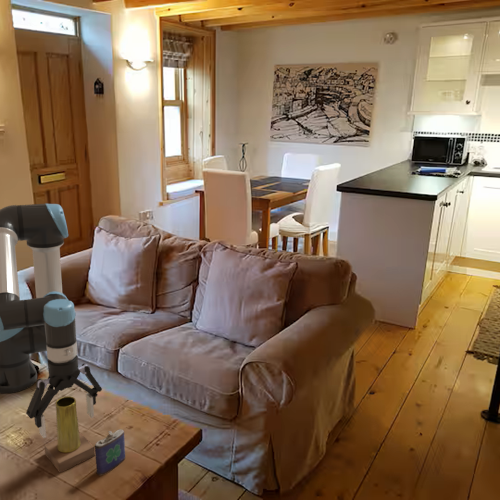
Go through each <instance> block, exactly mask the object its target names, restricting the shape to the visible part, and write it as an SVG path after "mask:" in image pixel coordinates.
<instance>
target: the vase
mask: <svg viewBox="0 0 500 500" xmlns="http://www.w3.org/2000/svg"><path fill="white" fill-rule="evenodd" d="M55 415H56V433H57V438H56V440H57V442H58V446H57V448H58V450H59V451H60V452H63V453H69V452H72V451H75V450H76V449H78V448H79V446H80V444H81V443H80V439H79V431H80V430H79V421H78V420H79V419H78V414H77V400H76V398H75V397H73V396H62V397H60V398H58V399H57V400H56V401H55Z"/></svg>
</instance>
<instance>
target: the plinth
mask: <svg viewBox="0 0 500 500" xmlns="http://www.w3.org/2000/svg"><path fill="white" fill-rule="evenodd" d="M79 439H80V443H81V444H80V446H79V448H78V449H76V450H75V451H72V452H69V453H63V452H60V451H59V450H58V448H57V446H58V442H57V439H55V440H53V441H50V442H48V443H46V444H44V445H43V446H44V454H45V456H46V457H47V458H48V459H49V461H50V462H51V463H52V465H54V467H55V468H56V470H57V471H58V472H59V473H62V472H64V471H66V470H69V469H71V468H73V467H75V466H77V465H79V464H81V463H83V462H85V461H87V460H89V459H92V458H94V457H96V456H95V445H93V444H92V443H91V442H90V441H89V440H88V439H87V437H85V435H83V434H82V433H81V431H80V430H79ZM93 456H94V457H93ZM84 460H85V461H84ZM82 461H83V462H82ZM76 464H77V465H76Z"/></svg>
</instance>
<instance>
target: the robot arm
mask: <svg viewBox="0 0 500 500" xmlns="http://www.w3.org/2000/svg"><path fill="white" fill-rule="evenodd" d="M68 237H69V231H68V226H67V221H66V217H65V213H64V209H63V207H62V206H61V205H60V204H58V203H48V202H47V203H46V202H45V203H35V204H12V205H8V206H4V207H2V208H1V209H0V394H13V393H16V392H17V393H18V392H20V391H24V390H26V389H28V388H30V387H31V386H33V385H35V383H36V386H35V390H34V392H33V395H32V397H31V399H30V402H29V405H28V406H27V410H26V412H25V413H26V415H27V417H28V418H29V419H33V418H34V425H35V426H36V428H38V431H39V434H40V436H41V437H42V438H43V439H45V438H47V430H46V428H47V427H46V418H45V415H44V413H45V411H46V409H47V408H48V407H49V405H50V404H51V402H52V401H53V399H54V397H55V396H57V395H58V394H59V392H60V391H61V392H62V391H64V390H66V389H70V388H72V387H73V386H74V385H75V386H77V387H79V388H80V389H82V390H83V391H85V392H86V394H85V397H86V399H85V400H86V414H87V416H89V417H90V418H95V413H94V410H95V409H94V405H96V404H97V398H96V397H98V392H102V390H103V388H102V386H101V385H100V384H99V382H98V381H97V380H96V378H95V376H94V375H93V374H92V373H91V368H90V366H89V365H88V364H86V363H82V364H81V366H80V367H79V358H78V343H77V342H78V341H77V340H78V339H77V332H76V331H77V330H76V329H77V327H76V310H75V304H74V302H73V301H72V300H69V299H68V298H67V296H66V294H65V293H63V284H62V283H63V281H62V266H61V265H62V264H61V249H60V248H61V247H62V246H63V245H64V244H65V239H67V238H68ZM19 241H20V242H21V241H26V245H27V247H29V249H31V251H32V262H33V263H32V264H33V274H34V275H33V276H34V285H35V297H36V298H28V299H27V298H26V299H21V297H20V287H19V276H18V275H19V274H18V267H17V266H18V265H17V255H16V254H17V253H16V246H17V244H18V242H19ZM43 352H46V358H47V369H48V377H47V378H46V379H45V378H44V379H41V378H38V373H37V370H36V368H35V365H34V364H33V361H32V360H31V354H38V353H43ZM81 374H83V375H84V376H85V377H86V378H87V380H88V381H89V382H90V384H91V385H92V387H90V386H88V385H87V384H86V383H85V382H83V381H81V380H80V379H78V378H79V376H80V375H81ZM45 389H47V390H46V392H45Z"/></svg>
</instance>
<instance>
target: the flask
mask: <svg viewBox="0 0 500 500" xmlns="http://www.w3.org/2000/svg"><path fill="white" fill-rule="evenodd" d="M107 432H108V434H107V436H106V437H105V438H103V439H99V440H98V441H97V442H96V443H95V445H94V451H95V456H94V457H95V466H96V467H95V468H96V474H97V475H98V476H103V475H106V474H107V473H110V472H111V471H113V470H115V468H116V467H118V466H119V465H121V464H122V463H123V462H124V461H125V459H126V448H125V447H126V445H125V430H123V429H117V430H116V431H114V432H112V430H109V431H107Z"/></svg>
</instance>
